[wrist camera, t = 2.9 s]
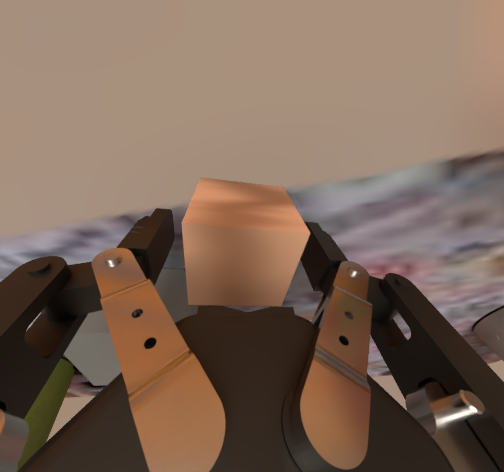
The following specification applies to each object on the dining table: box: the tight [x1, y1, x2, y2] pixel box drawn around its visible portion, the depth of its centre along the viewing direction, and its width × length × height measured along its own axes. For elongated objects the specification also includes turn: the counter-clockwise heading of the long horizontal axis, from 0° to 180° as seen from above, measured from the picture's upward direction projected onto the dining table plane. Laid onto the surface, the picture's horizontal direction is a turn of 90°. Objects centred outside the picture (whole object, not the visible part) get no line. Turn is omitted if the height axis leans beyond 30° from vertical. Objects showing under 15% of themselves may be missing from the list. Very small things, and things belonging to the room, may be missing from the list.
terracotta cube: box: [182, 178, 310, 306], centre depth 11 cm, size 5×5×5 cm
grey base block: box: [64, 268, 207, 386], centre depth 15 cm, size 8×8×5 cm
